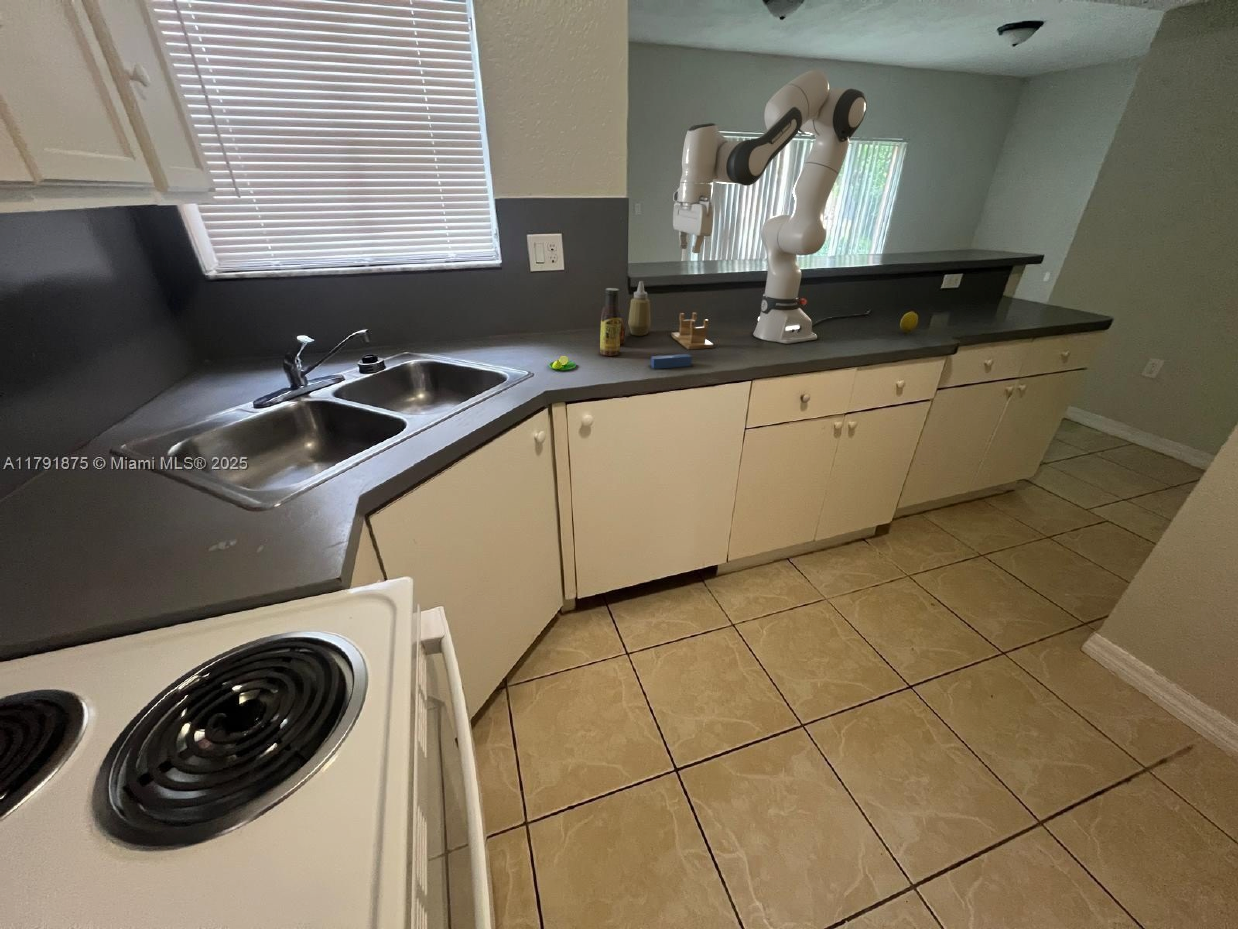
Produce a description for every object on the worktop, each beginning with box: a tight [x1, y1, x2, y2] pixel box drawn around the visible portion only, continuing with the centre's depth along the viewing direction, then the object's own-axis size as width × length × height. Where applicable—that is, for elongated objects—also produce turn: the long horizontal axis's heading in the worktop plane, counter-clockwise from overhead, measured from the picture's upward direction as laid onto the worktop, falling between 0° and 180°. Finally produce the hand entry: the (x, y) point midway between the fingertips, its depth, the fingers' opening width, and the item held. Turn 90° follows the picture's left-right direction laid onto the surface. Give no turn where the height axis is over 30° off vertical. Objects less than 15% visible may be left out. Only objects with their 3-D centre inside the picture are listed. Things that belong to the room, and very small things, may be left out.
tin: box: [620, 318, 627, 345], centre depth 165 cm, size 15×3×8 cm, turn 20°
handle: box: [650, 353, 693, 370], centre depth 145 cm, size 12×3×3 cm, turn 106°
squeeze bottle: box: [627, 280, 652, 337], centre depth 171 cm, size 8×8×18 cm
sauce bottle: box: [599, 287, 622, 357], centre depth 150 cm, size 7×6×20 cm
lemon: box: [899, 311, 919, 334], centre depth 181 cm, size 6×6×8 cm
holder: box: [670, 312, 715, 350], centre depth 166 cm, size 16×9×9 cm, turn 16°
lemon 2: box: [548, 355, 577, 372], centre depth 143 cm, size 8×8×3 cm
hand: (689, 250), depth 139 cm, fingers open, 8 cm apart
